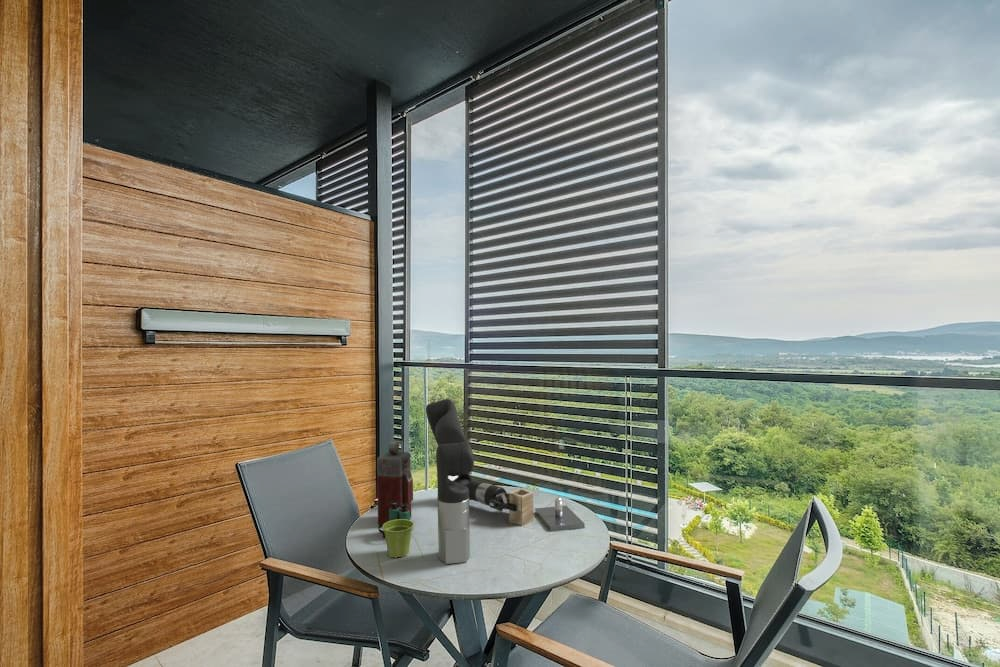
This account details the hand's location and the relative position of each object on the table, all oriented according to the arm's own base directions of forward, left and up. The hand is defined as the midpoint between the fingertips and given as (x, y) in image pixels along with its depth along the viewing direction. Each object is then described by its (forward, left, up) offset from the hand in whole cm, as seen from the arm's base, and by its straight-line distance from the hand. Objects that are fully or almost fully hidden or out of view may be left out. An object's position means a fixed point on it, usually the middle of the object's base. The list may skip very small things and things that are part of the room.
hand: (524, 505), depth 173 cm
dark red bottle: (+12, +43, -6) cm, 45 cm away
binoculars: (-2, +44, -6) cm, 44 cm away
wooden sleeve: (+1, +1, -6) cm, 6 cm away
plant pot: (-15, +43, -6) cm, 46 cm away
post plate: (-1, -12, -6) cm, 14 cm away
